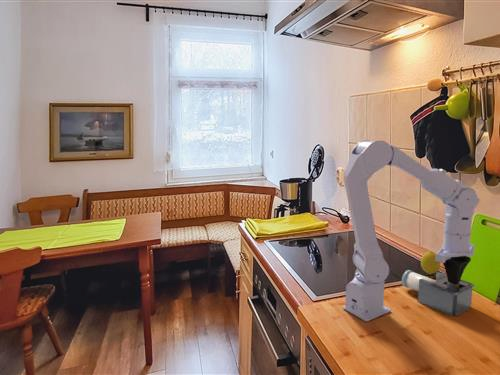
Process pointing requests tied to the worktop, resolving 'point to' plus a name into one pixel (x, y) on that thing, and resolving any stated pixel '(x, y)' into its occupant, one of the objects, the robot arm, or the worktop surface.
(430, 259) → the lemon
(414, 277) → the cartridge
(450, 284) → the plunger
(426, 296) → the housing
